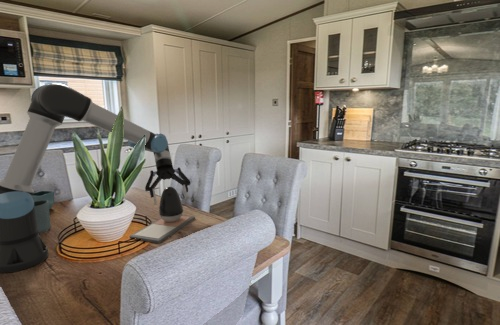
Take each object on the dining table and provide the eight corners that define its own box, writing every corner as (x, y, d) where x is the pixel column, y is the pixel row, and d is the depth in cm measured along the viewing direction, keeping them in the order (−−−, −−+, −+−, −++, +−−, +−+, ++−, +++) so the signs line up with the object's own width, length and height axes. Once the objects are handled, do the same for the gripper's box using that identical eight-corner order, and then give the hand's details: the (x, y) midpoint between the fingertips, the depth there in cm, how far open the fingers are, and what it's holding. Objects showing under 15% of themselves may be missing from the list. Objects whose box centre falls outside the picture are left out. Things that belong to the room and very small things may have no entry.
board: (159, 243, 116) (158, 240, 116) (129, 238, 121) (129, 235, 120) (194, 218, 140) (194, 216, 139) (169, 215, 145) (168, 213, 144)
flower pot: (28, 212, 155) (25, 195, 154) (44, 206, 164) (41, 190, 162) (41, 213, 153) (38, 196, 151) (57, 207, 161) (54, 191, 159)
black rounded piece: (159, 225, 129) (155, 191, 126) (160, 217, 139) (158, 184, 136) (183, 223, 131) (181, 189, 128) (183, 214, 141) (181, 183, 138)
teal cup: (38, 235, 126) (33, 207, 124) (18, 234, 128) (13, 206, 126) (58, 225, 136) (54, 199, 134) (39, 224, 138) (34, 199, 136)
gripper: (188, 163, 155) (197, 200, 144) (136, 169, 145) (142, 209, 134) (190, 154, 149) (199, 192, 138) (135, 160, 139) (141, 200, 129)
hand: (171, 200), depth 136 cm, fingers open, 13 cm apart
